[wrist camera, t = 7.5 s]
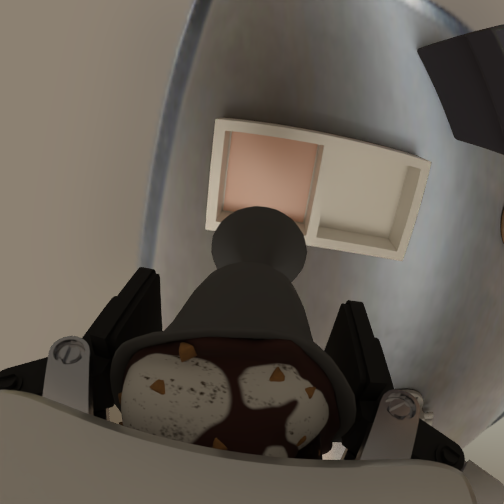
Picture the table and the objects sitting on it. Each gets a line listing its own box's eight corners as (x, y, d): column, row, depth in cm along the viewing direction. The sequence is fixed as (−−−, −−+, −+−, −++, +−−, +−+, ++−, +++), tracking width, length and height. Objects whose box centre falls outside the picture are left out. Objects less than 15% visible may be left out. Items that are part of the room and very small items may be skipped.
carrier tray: (416, 155, 29) (431, 162, 26) (391, 245, 34) (402, 261, 31) (223, 117, 30) (215, 118, 26) (213, 215, 35) (205, 229, 31)
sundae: (178, 206, 16) (-35, 485, 2) (310, 176, 14) (397, 606, 1) (215, 310, 18) (137, 572, 5) (330, 292, 17) (361, 590, 4)
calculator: (476, 129, 27) (565, 155, 13) (451, 141, 28) (537, 173, 15) (439, 41, 23) (524, 20, 10) (411, 51, 24) (491, 27, 11)
